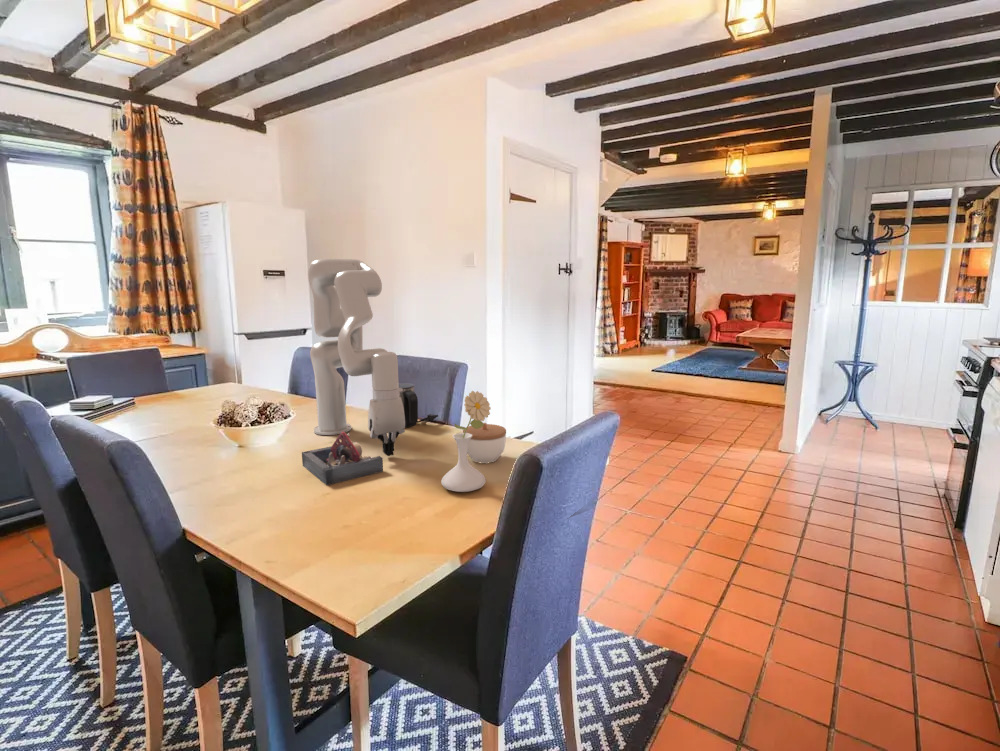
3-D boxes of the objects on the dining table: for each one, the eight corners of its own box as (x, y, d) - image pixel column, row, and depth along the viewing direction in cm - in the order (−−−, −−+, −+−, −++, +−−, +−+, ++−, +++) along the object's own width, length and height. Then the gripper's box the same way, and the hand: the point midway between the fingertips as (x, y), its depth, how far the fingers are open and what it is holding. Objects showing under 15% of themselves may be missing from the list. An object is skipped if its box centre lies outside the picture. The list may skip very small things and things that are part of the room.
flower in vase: (449, 499, 131) (446, 398, 126) (435, 483, 141) (432, 389, 136) (498, 490, 136) (497, 393, 131) (482, 475, 146) (480, 385, 142)
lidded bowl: (454, 460, 159) (453, 423, 157) (484, 449, 168) (484, 415, 166) (485, 470, 150) (484, 432, 148) (515, 458, 159) (515, 422, 157)
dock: (302, 465, 155) (301, 452, 154) (355, 454, 164) (355, 441, 164) (326, 485, 140) (325, 470, 139) (383, 471, 150) (382, 457, 149)
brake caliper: (312, 465, 148) (330, 425, 153) (338, 477, 157) (355, 440, 161) (340, 472, 142) (359, 431, 147) (366, 485, 151) (383, 446, 155)
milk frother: (385, 426, 195) (383, 386, 193) (415, 416, 208) (414, 378, 205) (413, 432, 187) (412, 390, 185) (443, 422, 200) (442, 382, 197)
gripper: (403, 389, 165) (405, 446, 168) (356, 395, 156) (359, 456, 159) (414, 393, 159) (417, 452, 162) (366, 400, 150) (370, 463, 153)
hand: (388, 454), depth 161 cm, fingers closed
